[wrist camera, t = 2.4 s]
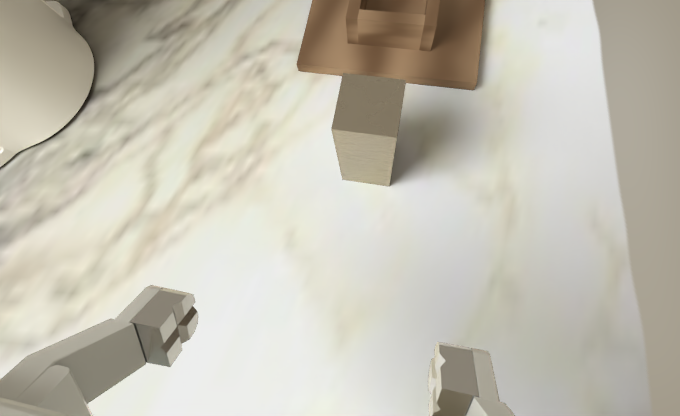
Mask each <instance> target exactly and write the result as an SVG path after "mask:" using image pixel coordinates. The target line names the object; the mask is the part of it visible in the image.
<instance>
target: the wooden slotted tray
mask: <svg viewBox="0 0 680 416" xmlns="http://www.w3.org/2000/svg"><path fill="white" fill-rule="evenodd" d="M484 7H485V0H312V4H311V9H310V13H309V17H308V21H307V25H306V29H305V33H304V37H303V41H302V45H301V49H300V53H299V57H298V61H297V67H298V70H299V71H303V72H312V73H321V74H330V75H339V76H343V73H348V74H357V75H367V76H376V77H385V78H394V79H403V80H406V83H413V84H422V85H431V86H440V87H449V88H458V89H467V90H474V88H475V86H476V84H477V77H478V67H479V57H480V47H481V37H482V27H483V17H484Z"/></svg>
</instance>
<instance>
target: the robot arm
mask: <svg viewBox="0 0 680 416" xmlns="http://www.w3.org/2000/svg"><path fill="white" fill-rule="evenodd" d="M93 76H94V59H93V55H92V52H91V49H90V47H89V45H88V44H87V42H86V41H85V40H84V38H83V37H82V36H81V35H80V34H79V33H78V32H77V31H76V30H75V29H74V28H73V25H72V21H71V17H70V14H69V12H68V10H67V9H66V8H65V7H64V6H62V5H61V4H60V3H59V2H57V1H43V0H0V167H1V166H2V165H4V164H5V163H6V162H7V161H8V160H10V159H11V158H12V157H13V156H14V155H15V154H16V153H18V152H20V151H21V150H24V149H26V148H28V147H30V146H33V145H35V144H37V143H40V142H42V141H44V140H45V139H47V138H49V137H50V136H52V135H53V134H55V133H56V132H58V131H59V130H60V129H61V128H63V127H64V126H65V125H66V124H67V123H68V122H69V121H70V120H71V119H72V118H73V117H74V116H75V114H76V113H77V112H78V111H79V109H80V108H81V106H82V105H83V103H84V101H85V99H86V98H87V95H88V93H89V91H90V88H91V85H92V81H93ZM194 303H195V298H194V295H193V294H190V293H186V292H181V291H177V290H173V289H168V288H163V287H158V286H154V285H150V286H148V287H146V288H145V289H144V290H143V291H142V292H141V293H140V294H139V295H138V296H137V297H136V298H135V299H134V300H133V301H132V302H131V303H130V304H129V305H128V306H127V307H126V308H125V309H124V310H123V311H122V312H121V313H120V314H119V315H118V316H117V317H116V318H115V319H109V320H106V321H104V322H102V323H100V324H97V325H95V326H93V327H91V328H89V329H86V330H84V331H82V332H80V333H77V334H75V335H73V336H71V337H68V338H66V339H64V340H62V341H60V342H57V343H55V344H53V345H51V346H48V347H46V348H44V349H42V350H39V351H37V352H35V353H33V354H31V355H28V356H27V357H25V358H24V359H23V360H22V361H21V362H20V363H19V364H18V365H16V366H15V367H14V368H13V369H12V370H11V371H10V372H9V373H7V374H6V375H5V376H4V377H3V378H2V379H1V380H0V416H93V415H92V413H91V411H90V409H89V407H88V405H87V404H88V403H89V402H91V401H92V400H93V399H95V398H96V397H98V396H99V395H101V394H102V393H104V392H105V391H107V390H108V389H110V388H111V387H113V386H114V385H116V384H117V383H119V382H120V381H122V380H123V379H125V378H126V377H127V376H129V375H130V374H132V373H133V372H135V371H136V370H138V369H139V368H141V367H142V366H144V365H145V364H146V362H147V363H152V364H158V365H163V366H168V367H171V365H172V364H173V363H174V361H175V360H176V358H177V357H178V355H179V354H180V353H181V351H182V343H184V342H186V341H187V340H189V339H190V338H191V337H192V335H193V334H194V332H195V329H196V327H197V324H198V312H197V311H196V309H195V308H194V307H193V305H194ZM434 355H435V357H434V358H433V359H431V363H430V368H429V374H428V391H429V392H430V394H431V398H430V401H429V404H428V407H429V416H515V415H514V414H513V412H512V411H511V410H510V409H509V407H508V406H507V405H506V404H505V403H502V402H500V401H499V396H498V391H497V386H496V381H495V377H494V372H493V367H492V362H491V357H490V354H489V352H488V351H484V350H479V349H473V348H469V347H464V346H458V345H453V344H448V343H442V342H437V343H436V346H435V349H434Z"/></svg>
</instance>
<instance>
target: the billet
mask: <svg viewBox="0 0 680 416" xmlns="http://www.w3.org/2000/svg"><path fill="white" fill-rule="evenodd" d="M405 84H406V80H403V79H394V78H385V77H376V76H367V75H357V74H348V73H343V76H342V81H341V86H340V91H339V95H338V100H337V105H336V110H335V115H334V120H333V124H332V134H333V139H334V143H335V148H336V152H337V157H338V161H339V166H340V171H341V175H342V180H349V181H356V182H363V183H370V184H376V185H383V186H389V185H390V179H391V172H392V166H393V160H394V154H395V147H396V141H397V135H398V128H399V122H400V116H401V109H402V103H403V96H404V90H405Z"/></svg>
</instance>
